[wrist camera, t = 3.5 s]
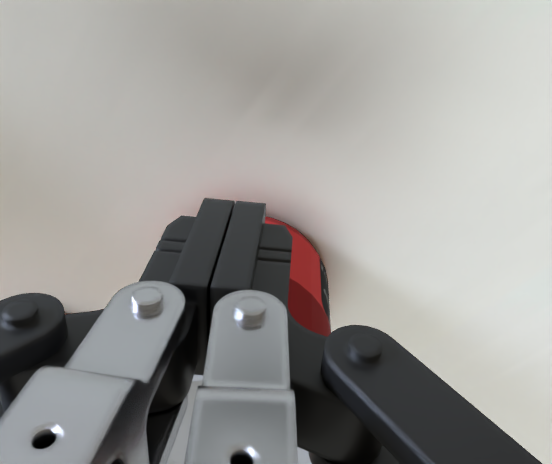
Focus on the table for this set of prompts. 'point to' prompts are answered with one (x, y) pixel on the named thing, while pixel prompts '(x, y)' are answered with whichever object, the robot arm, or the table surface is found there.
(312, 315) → the canned food
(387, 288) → the table surface
